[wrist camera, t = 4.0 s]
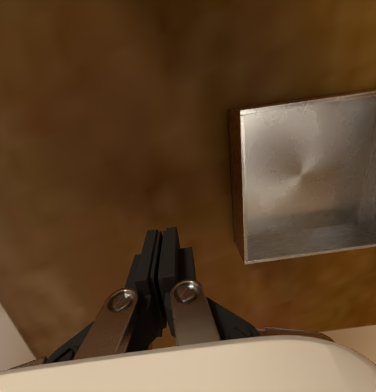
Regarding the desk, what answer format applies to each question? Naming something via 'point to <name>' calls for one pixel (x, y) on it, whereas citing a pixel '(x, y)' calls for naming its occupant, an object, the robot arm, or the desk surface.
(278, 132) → the baking pan
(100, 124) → the desk surface
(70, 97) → the desk surface
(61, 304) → the desk surface
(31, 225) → the desk surface
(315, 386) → the robot arm
